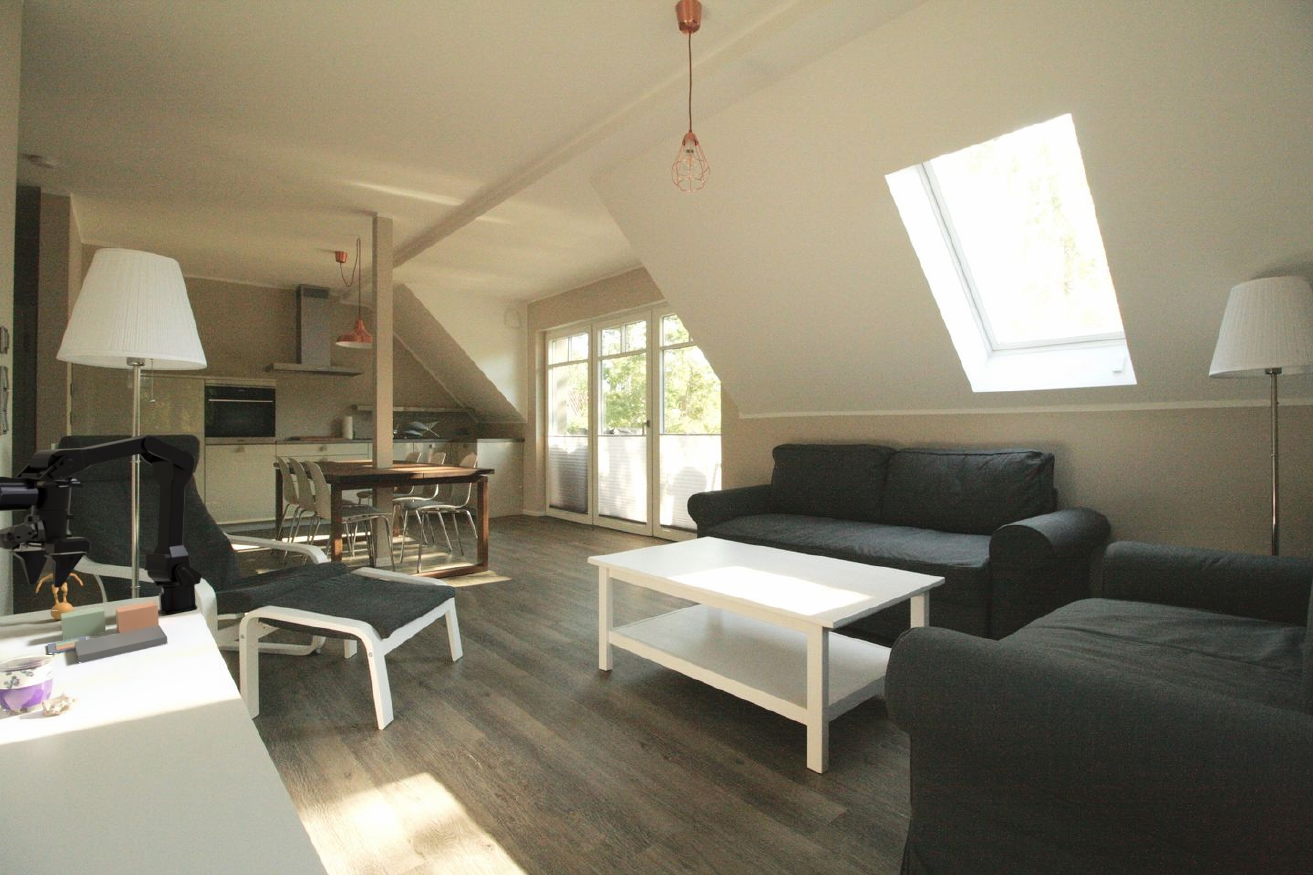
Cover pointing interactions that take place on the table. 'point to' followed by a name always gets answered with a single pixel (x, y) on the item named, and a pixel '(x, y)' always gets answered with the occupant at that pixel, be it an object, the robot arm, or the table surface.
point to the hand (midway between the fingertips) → (44, 585)
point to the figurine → (61, 607)
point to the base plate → (119, 643)
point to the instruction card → (63, 645)
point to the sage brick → (83, 623)
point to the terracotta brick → (137, 616)
